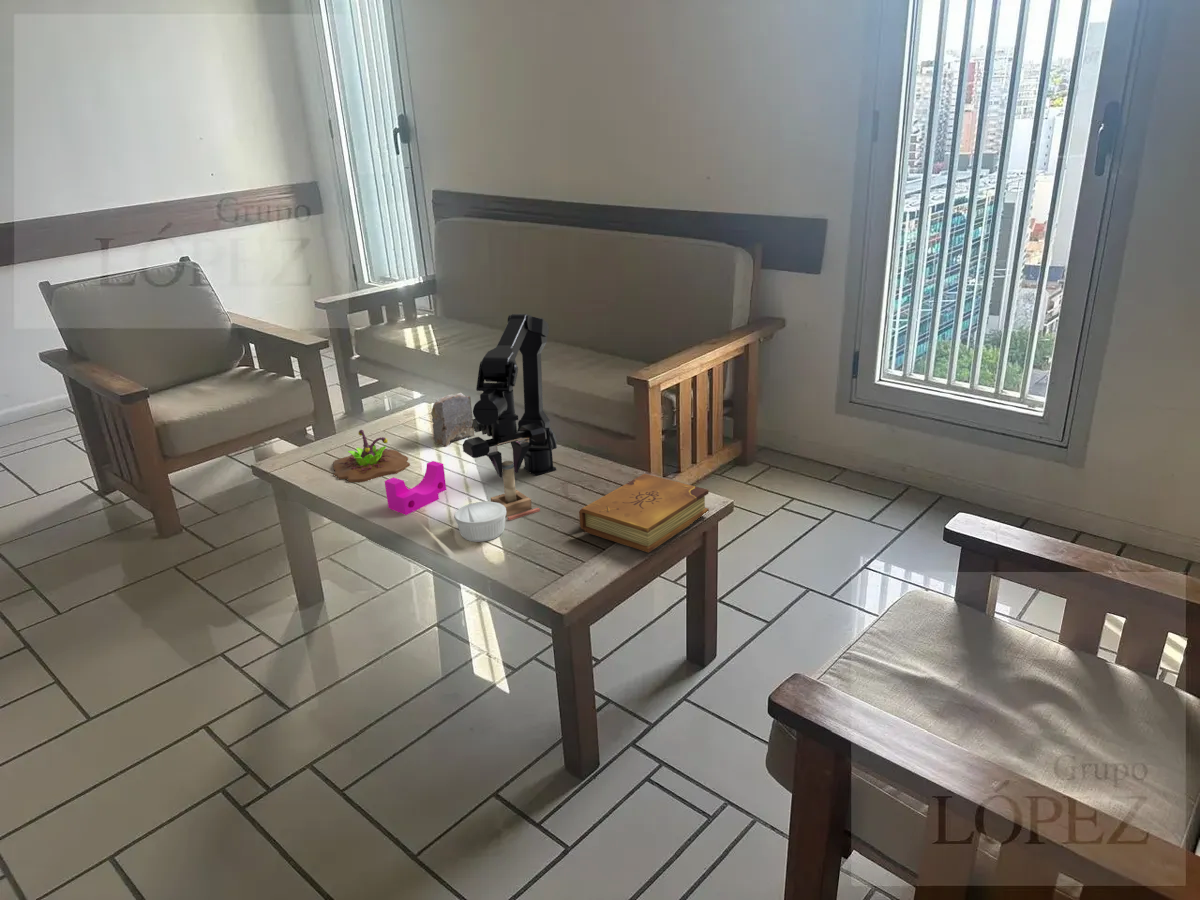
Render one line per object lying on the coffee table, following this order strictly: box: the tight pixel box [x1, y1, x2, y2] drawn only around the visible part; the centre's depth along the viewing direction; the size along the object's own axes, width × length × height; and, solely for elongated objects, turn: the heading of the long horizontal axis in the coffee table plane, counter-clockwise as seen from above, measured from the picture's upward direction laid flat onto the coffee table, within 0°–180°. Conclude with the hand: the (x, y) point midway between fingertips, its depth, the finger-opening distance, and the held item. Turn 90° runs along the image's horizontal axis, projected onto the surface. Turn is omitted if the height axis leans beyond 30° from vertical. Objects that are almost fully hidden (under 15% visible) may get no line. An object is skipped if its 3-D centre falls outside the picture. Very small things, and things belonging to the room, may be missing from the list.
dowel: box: [502, 460, 517, 504], centre depth 196 cm, size 3×3×12 cm
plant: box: [332, 429, 411, 483], centre depth 224 cm, size 20×20×11 cm
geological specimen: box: [430, 392, 475, 447], centre depth 239 cm, size 11×6×15 cm, turn 138°
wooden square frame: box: [489, 489, 541, 521], centre depth 197 cm, size 8×9×2 cm
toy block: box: [384, 460, 447, 516], centre depth 203 cm, size 15×6×8 cm, turn 142°
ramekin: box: [454, 501, 506, 543], centre depth 186 cm, size 11×11×5 cm
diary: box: [578, 473, 710, 554], centre depth 188 cm, size 23×19×6 cm
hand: (508, 474), depth 195 cm, fingers open, 4 cm apart
